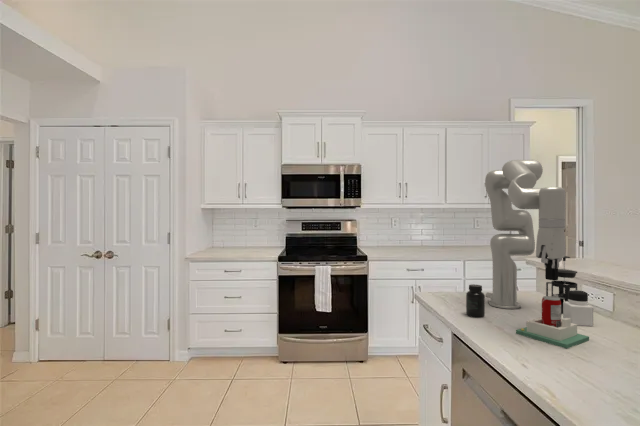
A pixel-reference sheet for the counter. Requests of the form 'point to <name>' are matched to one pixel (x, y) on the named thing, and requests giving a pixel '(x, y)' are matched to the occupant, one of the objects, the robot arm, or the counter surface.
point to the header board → (553, 333)
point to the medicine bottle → (578, 308)
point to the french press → (563, 284)
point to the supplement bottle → (475, 301)
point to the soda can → (551, 311)
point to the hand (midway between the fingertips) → (551, 279)
